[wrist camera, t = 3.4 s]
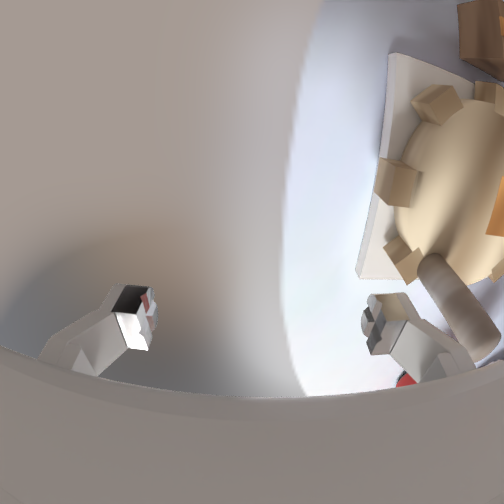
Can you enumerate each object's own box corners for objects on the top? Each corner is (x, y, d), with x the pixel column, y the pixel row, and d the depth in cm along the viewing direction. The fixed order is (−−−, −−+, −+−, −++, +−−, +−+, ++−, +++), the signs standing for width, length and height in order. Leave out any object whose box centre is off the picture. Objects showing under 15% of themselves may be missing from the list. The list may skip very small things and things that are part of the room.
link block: (497, 31, 8) (539, 31, 4) (499, 81, 10) (543, 89, 6) (456, 5, 8) (498, -5, 4) (458, 58, 10) (505, 58, 6)
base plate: (522, 115, 10) (531, 118, 9) (480, 271, 17) (487, 278, 16) (388, 54, 10) (396, 52, 9) (355, 269, 17) (359, 279, 16)
